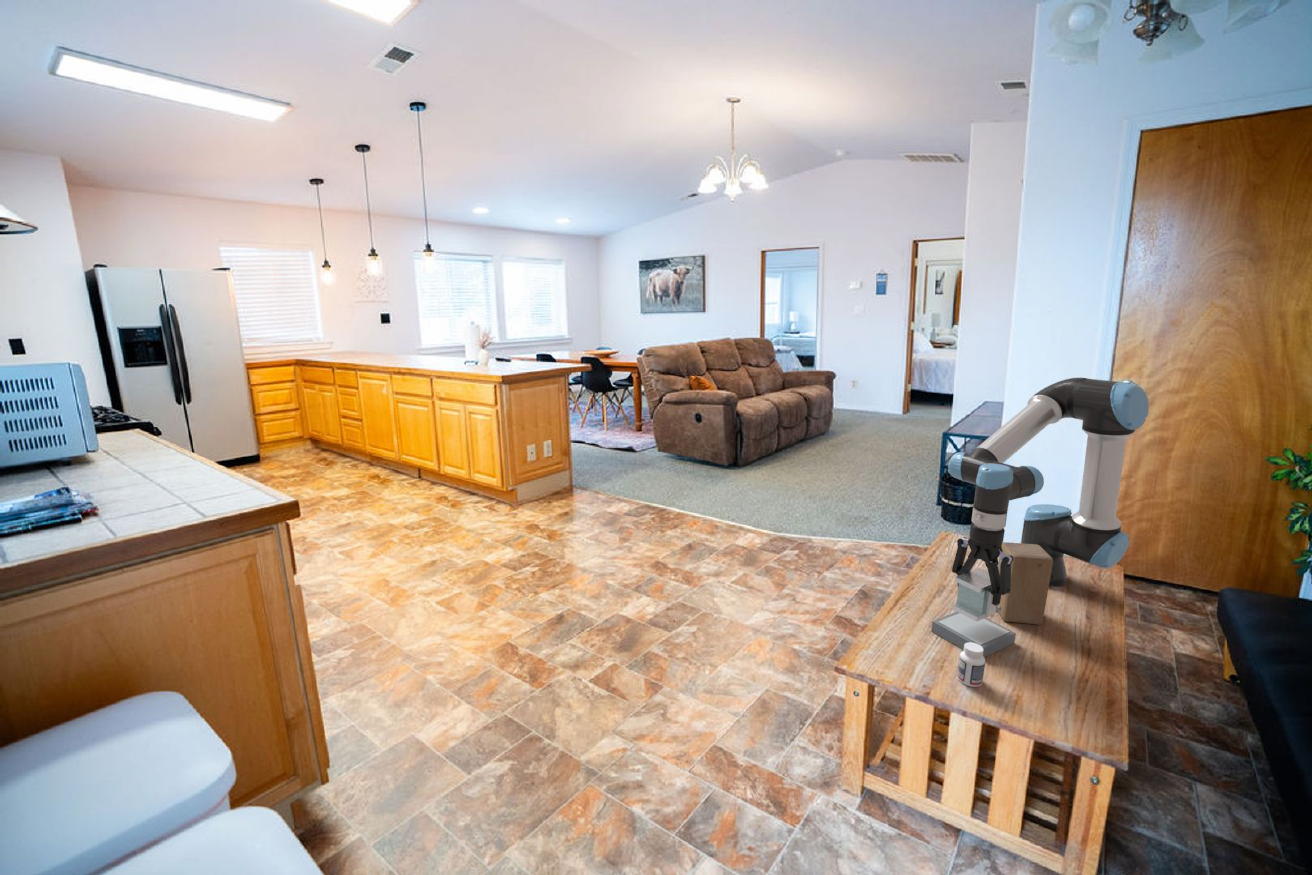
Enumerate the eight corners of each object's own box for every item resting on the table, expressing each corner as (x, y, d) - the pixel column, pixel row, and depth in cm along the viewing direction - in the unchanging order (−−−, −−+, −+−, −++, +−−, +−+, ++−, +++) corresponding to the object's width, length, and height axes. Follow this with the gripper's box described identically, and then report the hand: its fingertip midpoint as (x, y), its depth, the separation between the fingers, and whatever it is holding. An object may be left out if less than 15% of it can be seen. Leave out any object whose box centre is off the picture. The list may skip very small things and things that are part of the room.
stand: (964, 617, 166) (966, 607, 165) (1014, 643, 154) (1016, 632, 153) (931, 631, 159) (932, 620, 159) (980, 659, 147) (981, 647, 147)
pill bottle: (984, 679, 140) (989, 646, 138) (978, 690, 136) (983, 656, 134) (960, 670, 143) (965, 637, 141) (954, 680, 139) (958, 647, 137)
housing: (951, 608, 155) (955, 577, 153) (975, 598, 160) (979, 567, 158) (976, 621, 149) (980, 588, 147) (1000, 610, 154) (1005, 578, 152)
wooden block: (1043, 626, 161) (1055, 558, 156) (1003, 622, 163) (1013, 555, 158) (1028, 607, 171) (1039, 543, 166) (991, 604, 173) (1000, 540, 168)
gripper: (942, 515, 156) (933, 594, 161) (1018, 543, 138) (1004, 630, 144) (961, 509, 159) (951, 587, 165) (1037, 536, 142) (1023, 622, 148)
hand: (976, 607), depth 154 cm, fingers closed on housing, 7 cm apart
